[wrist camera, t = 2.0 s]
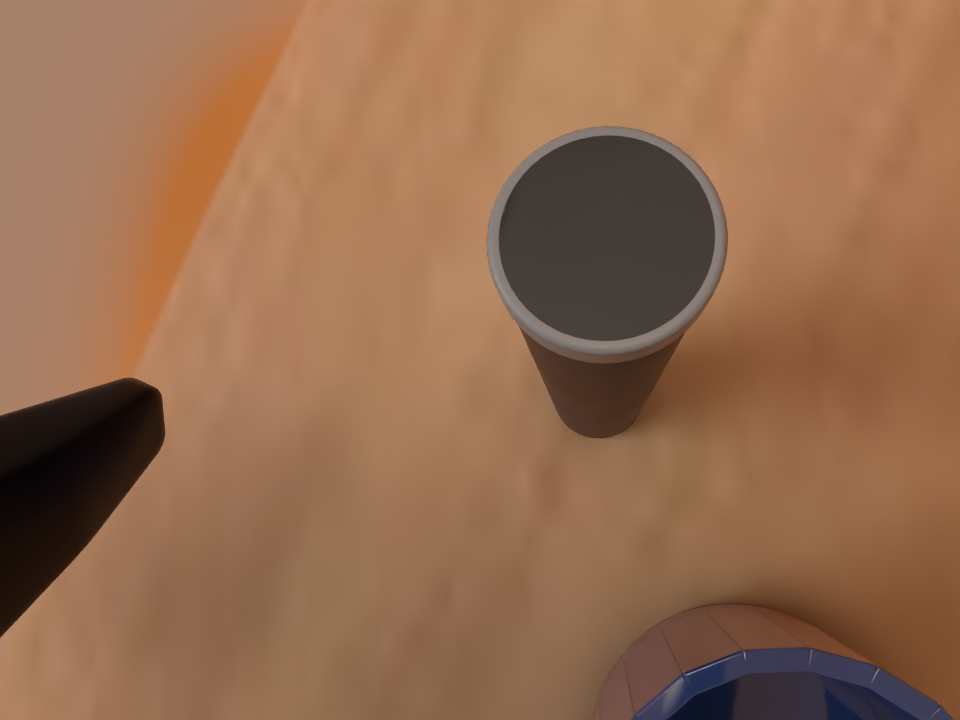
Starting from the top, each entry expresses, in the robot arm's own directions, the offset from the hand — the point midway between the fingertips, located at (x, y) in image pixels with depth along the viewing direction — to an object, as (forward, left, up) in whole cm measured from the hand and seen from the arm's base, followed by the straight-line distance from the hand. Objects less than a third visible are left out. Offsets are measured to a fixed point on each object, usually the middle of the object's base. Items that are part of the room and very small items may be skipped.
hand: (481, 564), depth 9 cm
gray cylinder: (+3, +1, -10) cm, 11 cm away
